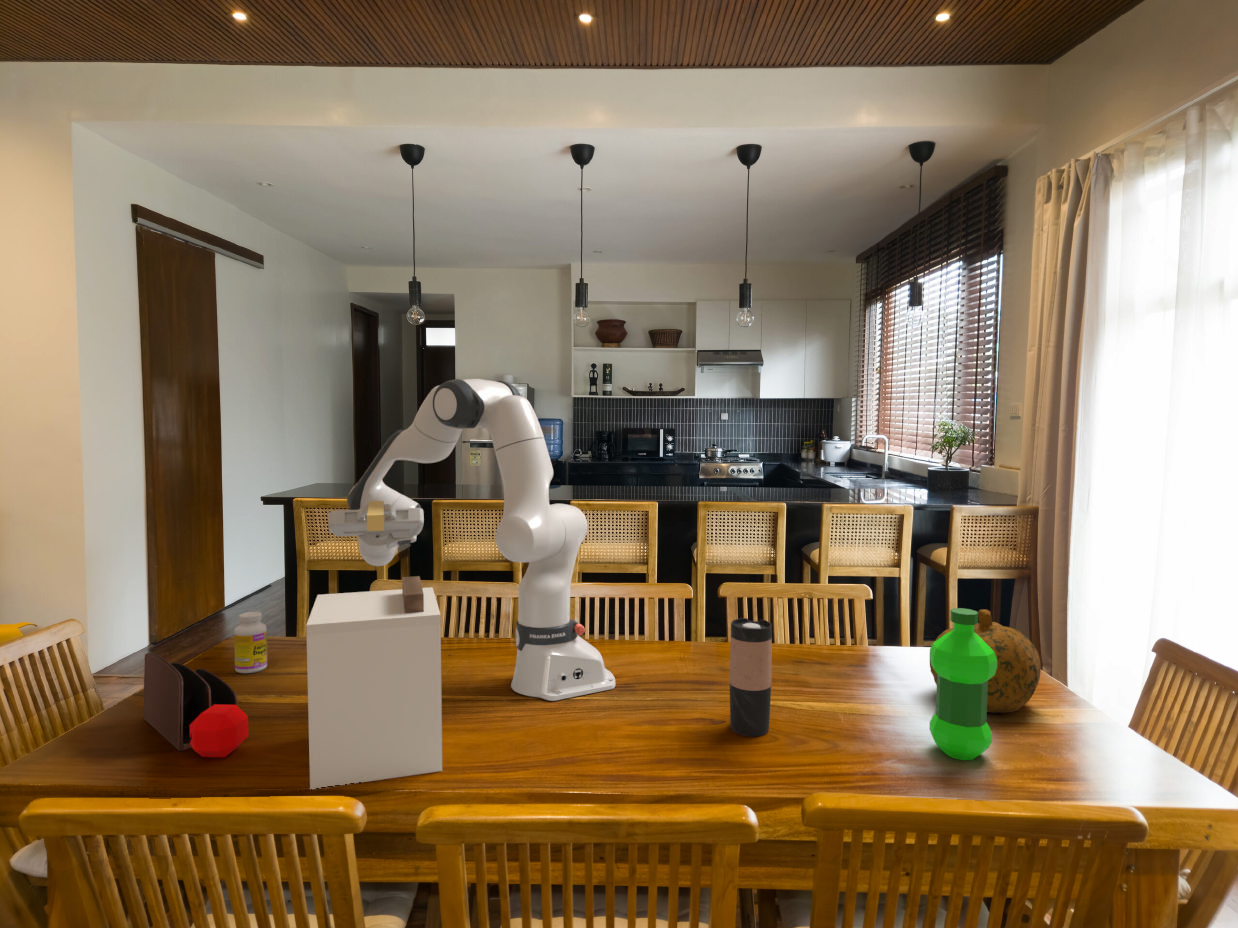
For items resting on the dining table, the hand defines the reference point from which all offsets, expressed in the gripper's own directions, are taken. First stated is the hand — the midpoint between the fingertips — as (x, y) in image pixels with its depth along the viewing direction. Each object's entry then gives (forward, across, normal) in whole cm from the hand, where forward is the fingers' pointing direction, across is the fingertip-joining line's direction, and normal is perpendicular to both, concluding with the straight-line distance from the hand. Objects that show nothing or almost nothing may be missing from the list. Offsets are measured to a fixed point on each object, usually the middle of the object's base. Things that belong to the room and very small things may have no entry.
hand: (376, 507), depth 156 cm
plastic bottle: (+38, +96, +66) cm, 123 cm away
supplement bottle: (-34, -28, +25) cm, 51 cm away
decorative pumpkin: (+23, +118, +58) cm, 134 cm away
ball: (+4, -26, +47) cm, 54 cm away
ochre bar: (+7, 0, +6) cm, 9 cm away
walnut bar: (+25, +6, +29) cm, 39 cm away
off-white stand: (+12, 0, +51) cm, 52 cm away
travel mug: (+21, +66, +56) cm, 89 cm away
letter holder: (-7, -33, +41) cm, 53 cm away
